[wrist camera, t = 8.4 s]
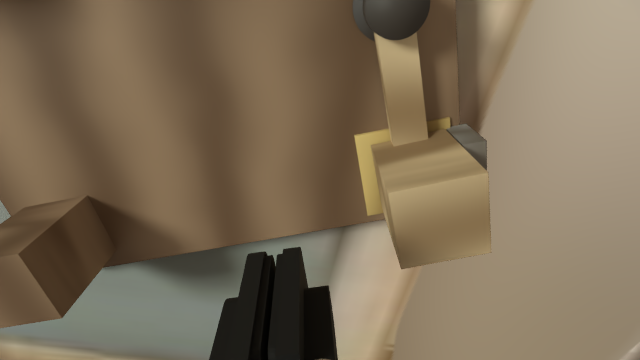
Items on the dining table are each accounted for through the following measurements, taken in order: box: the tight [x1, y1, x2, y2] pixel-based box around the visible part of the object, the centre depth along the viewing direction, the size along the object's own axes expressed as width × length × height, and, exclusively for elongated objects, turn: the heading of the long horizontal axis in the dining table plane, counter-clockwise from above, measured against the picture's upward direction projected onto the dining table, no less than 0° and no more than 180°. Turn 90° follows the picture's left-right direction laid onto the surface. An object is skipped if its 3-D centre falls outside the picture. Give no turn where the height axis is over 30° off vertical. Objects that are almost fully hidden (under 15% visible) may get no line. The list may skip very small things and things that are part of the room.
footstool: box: [0, 0, 487, 328], centre depth 15 cm, size 24×21×7 cm
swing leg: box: [363, 0, 491, 269], centre depth 15 cm, size 11×4×5 cm, turn 13°
